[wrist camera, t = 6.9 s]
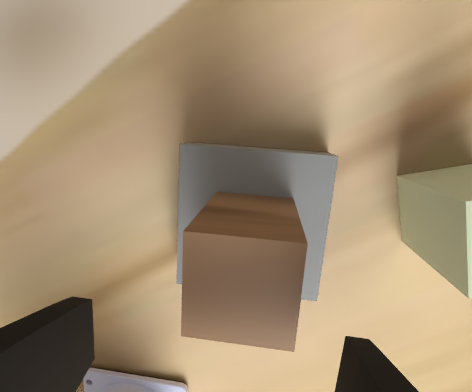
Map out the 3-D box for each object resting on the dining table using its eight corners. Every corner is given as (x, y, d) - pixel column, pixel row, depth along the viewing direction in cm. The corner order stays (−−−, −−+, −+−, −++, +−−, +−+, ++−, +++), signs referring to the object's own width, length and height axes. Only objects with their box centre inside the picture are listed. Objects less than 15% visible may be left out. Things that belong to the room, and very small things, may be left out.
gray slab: (309, 275, 19) (316, 301, 16) (190, 260, 20) (176, 283, 17) (326, 151, 17) (338, 156, 14) (194, 141, 18) (179, 143, 15)
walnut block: (285, 269, 16) (294, 351, 10) (213, 261, 16) (181, 336, 10) (293, 198, 15) (307, 243, 9) (216, 191, 15) (183, 231, 9)
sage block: (475, 231, 17) (586, 287, 11) (401, 241, 17) (468, 298, 11) (474, 163, 16) (592, 183, 10) (396, 175, 16) (465, 201, 11)
